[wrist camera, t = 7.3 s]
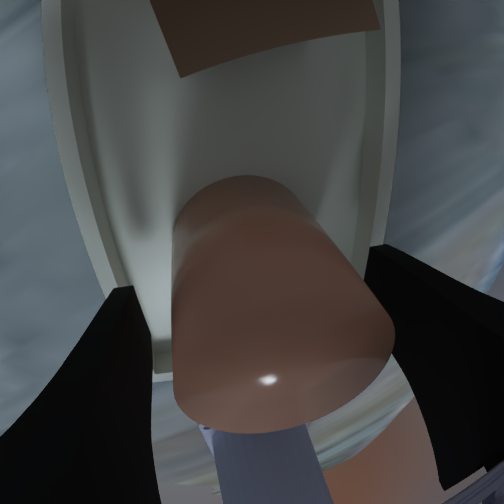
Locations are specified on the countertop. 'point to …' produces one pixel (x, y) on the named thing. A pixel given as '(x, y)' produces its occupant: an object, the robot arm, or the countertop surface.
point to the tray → (213, 136)
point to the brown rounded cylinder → (267, 312)
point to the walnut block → (252, 26)
